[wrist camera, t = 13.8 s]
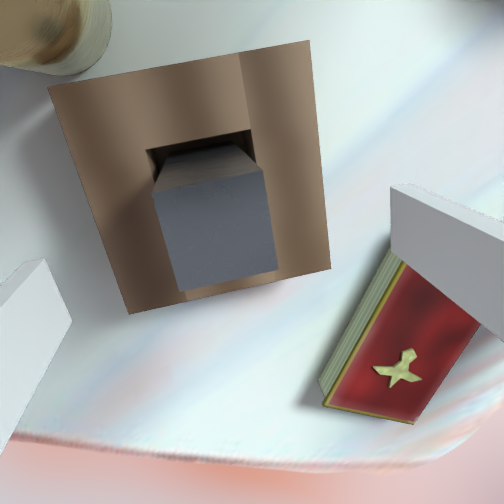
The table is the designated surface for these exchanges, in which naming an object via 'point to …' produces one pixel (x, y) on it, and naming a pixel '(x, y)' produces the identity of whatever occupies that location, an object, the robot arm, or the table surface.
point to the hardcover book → (396, 346)
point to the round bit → (53, 34)
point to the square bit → (214, 215)
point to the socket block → (193, 135)
